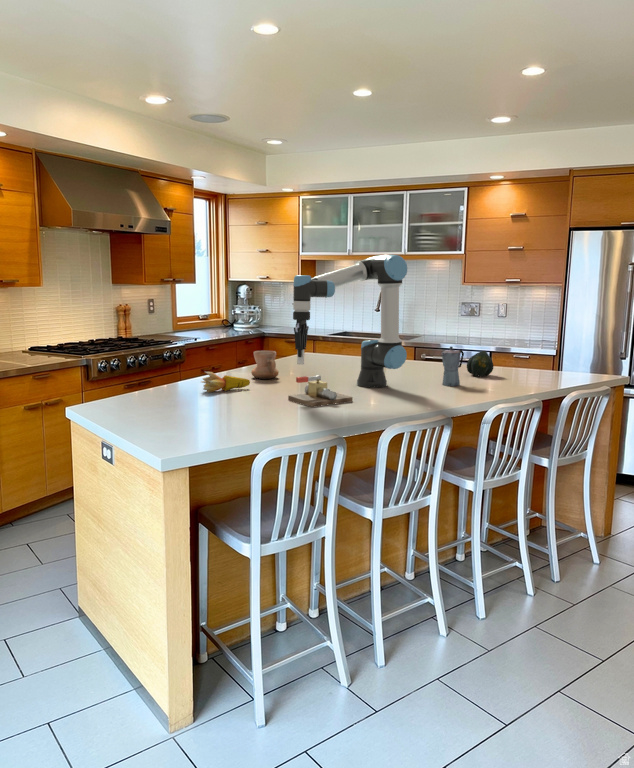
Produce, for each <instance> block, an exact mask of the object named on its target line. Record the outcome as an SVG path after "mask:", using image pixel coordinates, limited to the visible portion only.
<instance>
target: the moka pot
mask: <svg viewBox="0 0 634 768" xmlns="http://www.w3.org/2000/svg"><path fill="white" fill-rule="evenodd" d="M464 355H465V352H464V351H463V350H462V349H457V350H455V349H453V346H449V350H444V351H441V357H442V366H443V375H442V383H441V384H442V386H446V387H457V386H458V387H459V386H460V385H461V382H460V374H459V368H461V367H462V364H463V359H464V357H465V356H464Z"/></svg>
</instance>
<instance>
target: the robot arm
mask: <svg viewBox="0 0 634 768" xmlns="http://www.w3.org/2000/svg"><path fill="white" fill-rule="evenodd" d="M407 273H408V264H407V262H406V260H405V259H404V258H403V257H402V256H401V255H398V254H382V255H381V254H377V255H374V256H370V257H367V258H365V259H362V260H359V261H357V262H355V264H353V265H350V266H347V267H344V268H339V269H337V270H334V271H330V272H327V273H324V274H320V275H317V276H314V277H312V276H311V275H301V274H298V275H297V274H296V275H295V276H294V277H293V285H292V286H293V297H292V298H293V302H292V307H293V312H292V319H293V320H294V321H296V323H295V327H293V333H294V347H295V350H297V351H296V352H297V354H296V355H297V356H296V357H297V359H296V365H302V366H303V365H305V350H307V341H308V333H309V332H308V331H309V325H308V322H307V321H310V319H311V312H310V311H311V298H326V299H327V298H333V296H335V292H336V288H339V287H341V286H344V285H348V284H350V283H354V282H356V281H357V282H358V281H360V282H364V281H370V280H377V285H378V286H379V287H380V337H379V339H376V340H374V339H373V340H363V341H362V342H361V347H360V371H359V373H358V378H357V380H356V385H357V386H358V385H359V386H360V387H364V388H384V387H387V385H388V381H387V377H386V374H385V371H384V368H385V369H389V370H398V369H400V368H401V367H402V366H403V365H404V364H405V362H406V360H407V349H406V348H405V347H404V346H403V340H402V339H401V338H400V287H401V286H402V284H403V279H405V278H406V276H407ZM359 386H358V387H359Z"/></svg>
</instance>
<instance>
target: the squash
mask: <svg viewBox="0 0 634 768" xmlns="http://www.w3.org/2000/svg"><path fill="white" fill-rule="evenodd" d="M494 368H495V367H494V362H493V359H492V358H491V356H490V355H489V353H488V352H487V351H486V350H481V351H479V352H477V353H475V354H474V355H472V356H470V357H469V358H468V360H467V363H466V370H467V372H468V373H469V374H471V375H473V377H483V376H484V377H487V376H488V375H490V374H491V373H493V370H494Z"/></svg>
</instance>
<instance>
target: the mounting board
mask: <svg viewBox="0 0 634 768" xmlns="http://www.w3.org/2000/svg"><path fill="white" fill-rule="evenodd" d="M336 394H337V397H336V399H335V400H331V399H327V398H322V397H313V396H309V395H308V394H306V393H298V394H297V393H296V394H290V395H289V394H288V396H287V399H288V401H290V400H291V401H290V402H293V401H294V403H297V404H300V403H301V405H303V404H304V405H303V406H306V405H308V406H307V407H310V406H311V407H310V408H315V407H314V406H317V407H322V406H321V405H324V406H328V405H327V404H332V405H336V404H335V403H339V404H344V402H346V403H352V402H353V397H352V396H349V395H345V394H341V393H338V392H336Z"/></svg>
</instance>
